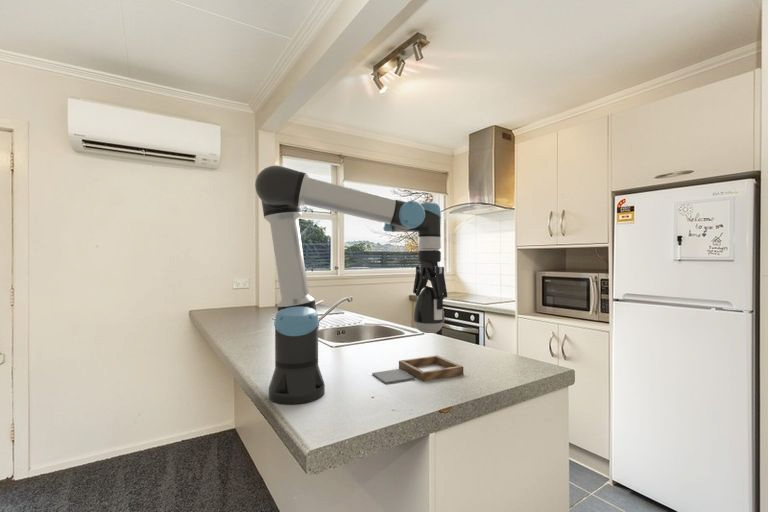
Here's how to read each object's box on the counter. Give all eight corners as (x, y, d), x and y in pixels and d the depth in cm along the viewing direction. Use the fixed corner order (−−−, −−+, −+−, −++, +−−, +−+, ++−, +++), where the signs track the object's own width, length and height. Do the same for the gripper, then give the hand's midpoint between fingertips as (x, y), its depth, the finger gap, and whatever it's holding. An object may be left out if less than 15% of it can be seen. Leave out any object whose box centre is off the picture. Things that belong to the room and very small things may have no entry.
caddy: (422, 381, 113) (422, 373, 113) (398, 368, 127) (398, 360, 127) (463, 374, 120) (463, 366, 120) (436, 362, 134) (436, 355, 134)
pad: (385, 384, 111) (385, 382, 111) (372, 374, 120) (372, 372, 120) (414, 379, 115) (414, 377, 115) (399, 370, 124) (399, 368, 124)
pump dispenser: (447, 334, 118) (447, 287, 118) (414, 334, 118) (414, 286, 119) (442, 328, 128) (442, 284, 129) (412, 328, 129) (412, 284, 129)
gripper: (459, 249, 115) (459, 321, 115) (421, 250, 135) (421, 312, 135) (438, 249, 112) (438, 323, 112) (403, 250, 132) (403, 313, 132)
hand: (429, 317), depth 124 cm, fingers closed on pump dispenser, 10 cm apart
